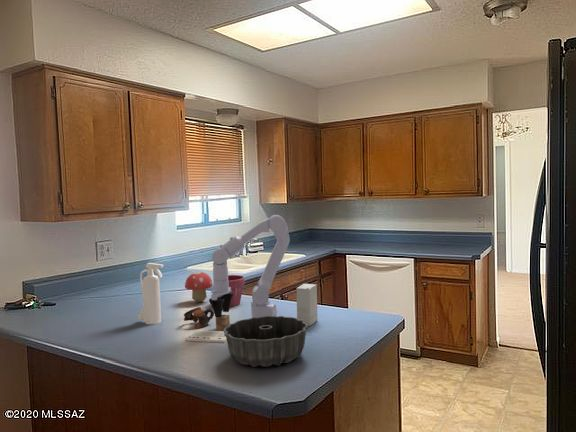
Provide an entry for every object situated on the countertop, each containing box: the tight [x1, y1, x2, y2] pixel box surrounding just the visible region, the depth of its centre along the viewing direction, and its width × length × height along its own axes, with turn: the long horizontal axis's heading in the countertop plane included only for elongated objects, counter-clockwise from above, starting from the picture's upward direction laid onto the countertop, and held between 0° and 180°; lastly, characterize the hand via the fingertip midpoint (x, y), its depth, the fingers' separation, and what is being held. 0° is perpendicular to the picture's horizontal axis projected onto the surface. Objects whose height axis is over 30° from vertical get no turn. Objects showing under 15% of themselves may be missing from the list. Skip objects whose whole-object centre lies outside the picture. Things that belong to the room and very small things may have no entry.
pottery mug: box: [183, 306, 215, 330], centre depth 181 cm, size 12×10×8 cm
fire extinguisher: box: [137, 262, 165, 325], centre depth 186 cm, size 7×12×25 cm, turn 72°
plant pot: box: [228, 274, 246, 307], centre depth 213 cm, size 14×14×13 cm
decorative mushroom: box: [184, 271, 214, 303], centre depth 219 cm, size 13×13×15 cm
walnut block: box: [215, 314, 231, 331], centre depth 174 cm, size 4×4×5 cm
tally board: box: [185, 329, 227, 344], centre depth 164 cm, size 15×10×1 cm, turn 76°
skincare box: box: [296, 283, 319, 327], centre depth 177 cm, size 8×6×15 cm
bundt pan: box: [224, 315, 309, 368], centre depth 141 cm, size 26×26×10 cm
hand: (222, 314), depth 173 cm, fingers open, 7 cm apart
